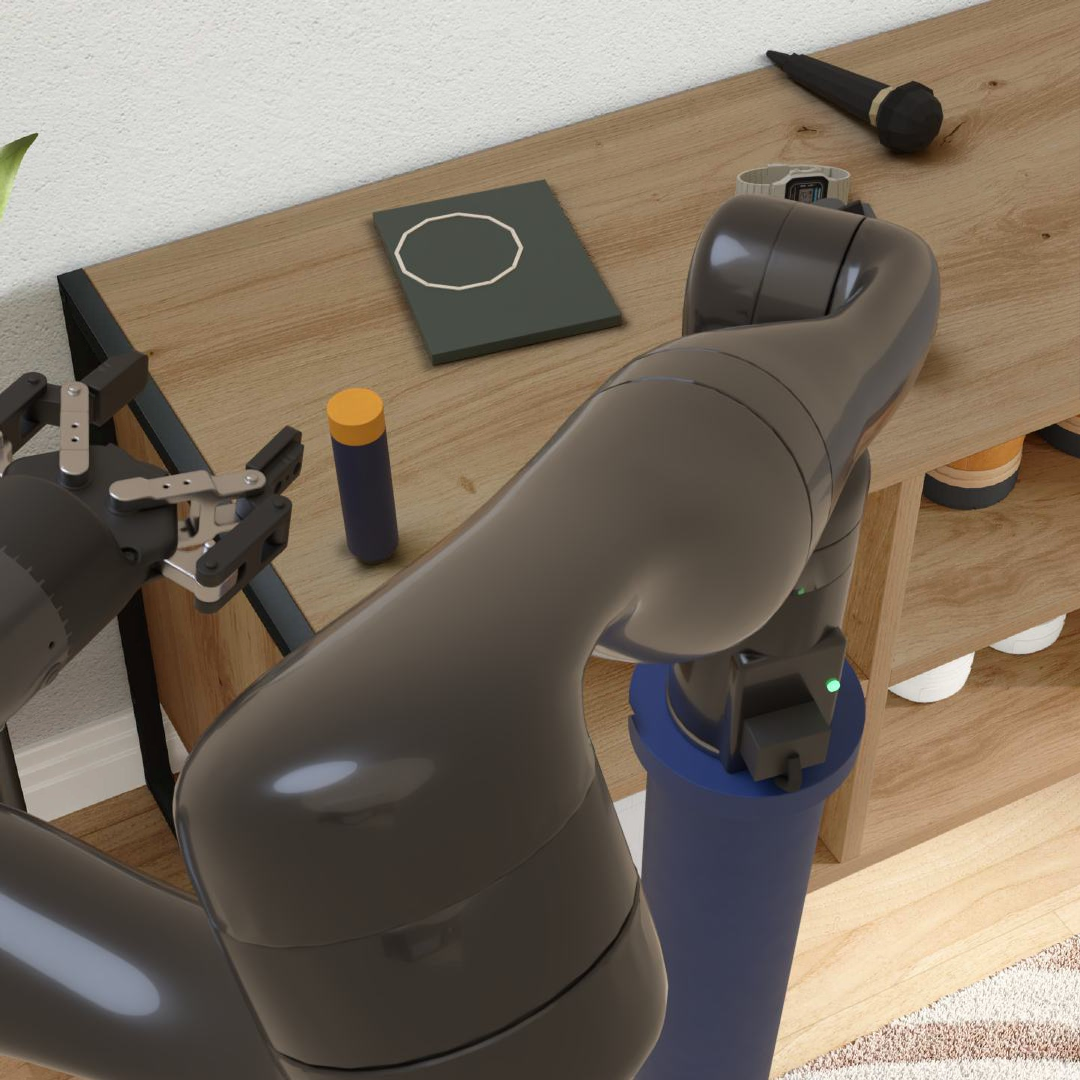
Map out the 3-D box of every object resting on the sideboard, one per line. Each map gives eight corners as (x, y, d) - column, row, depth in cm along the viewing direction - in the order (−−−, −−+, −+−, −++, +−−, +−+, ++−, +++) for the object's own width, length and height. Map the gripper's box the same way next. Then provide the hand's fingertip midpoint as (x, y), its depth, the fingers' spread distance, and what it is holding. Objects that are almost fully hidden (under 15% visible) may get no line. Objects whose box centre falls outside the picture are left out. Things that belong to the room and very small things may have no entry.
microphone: (753, 97, 139) (913, 177, 126) (737, 44, 135) (900, 120, 122) (798, 62, 140) (962, 137, 127) (784, 7, 136) (952, 79, 122)
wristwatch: (746, 243, 119) (751, 187, 116) (720, 197, 124) (724, 142, 120) (860, 225, 121) (868, 169, 117) (830, 180, 125) (837, 125, 121)
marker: (405, 562, 97) (389, 418, 89) (355, 574, 97) (333, 430, 88) (393, 527, 99) (375, 382, 91) (343, 539, 99) (321, 394, 90)
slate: (621, 325, 113) (621, 313, 112) (432, 365, 110) (431, 353, 109) (545, 189, 125) (545, 177, 124) (373, 222, 122) (371, 211, 121)
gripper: (136, 628, 59) (356, 406, 70) (-167, 467, 62) (92, 278, 73) (132, 749, 64) (338, 524, 76) (-147, 595, 67) (92, 400, 78)
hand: (217, 403), depth 74 cm, fingers open, 8 cm apart
